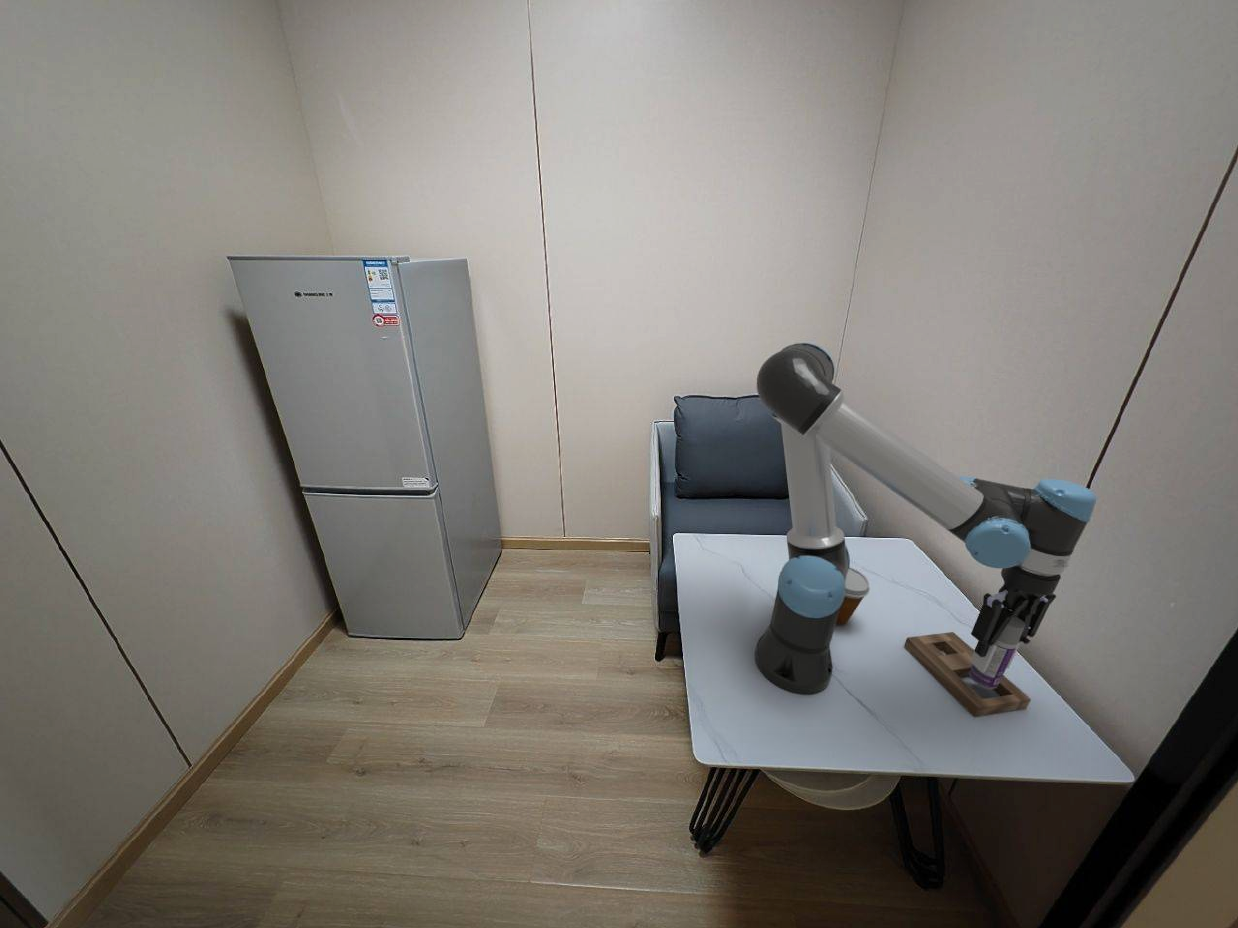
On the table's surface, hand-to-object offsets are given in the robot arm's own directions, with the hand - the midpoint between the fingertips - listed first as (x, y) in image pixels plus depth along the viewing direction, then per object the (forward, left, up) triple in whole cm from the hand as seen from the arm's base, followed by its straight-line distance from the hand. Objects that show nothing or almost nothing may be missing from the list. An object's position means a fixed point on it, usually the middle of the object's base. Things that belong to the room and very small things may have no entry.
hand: (989, 664), depth 91 cm
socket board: (0, +4, -7) cm, 8 cm away
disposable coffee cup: (-16, +24, -7) cm, 30 cm away
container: (0, 0, -4) cm, 4 cm away
